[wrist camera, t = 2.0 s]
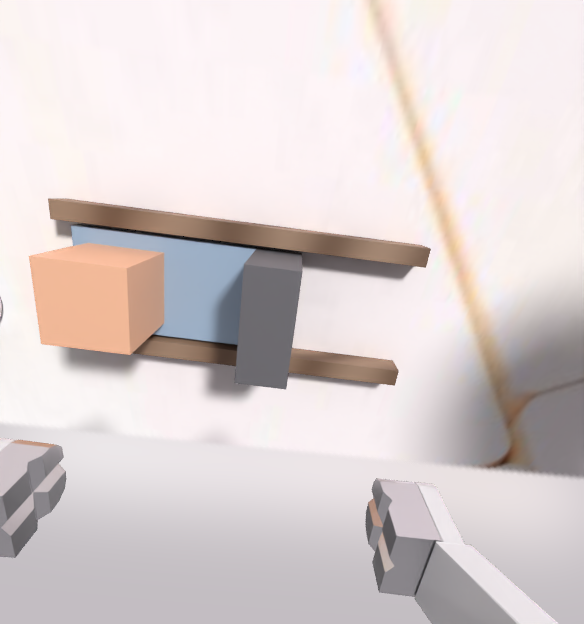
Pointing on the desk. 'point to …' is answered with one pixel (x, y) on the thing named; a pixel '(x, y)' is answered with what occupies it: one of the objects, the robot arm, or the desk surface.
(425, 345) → the desk surface
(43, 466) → the robot arm
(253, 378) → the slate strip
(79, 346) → the terracotta cube
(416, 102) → the desk surface
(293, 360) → the guide rails
